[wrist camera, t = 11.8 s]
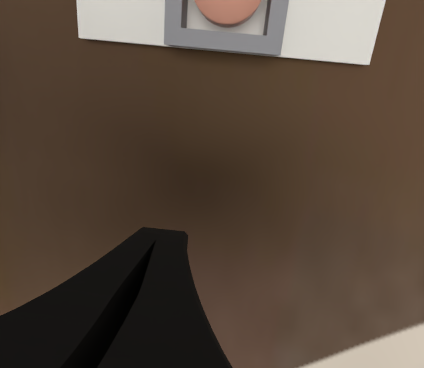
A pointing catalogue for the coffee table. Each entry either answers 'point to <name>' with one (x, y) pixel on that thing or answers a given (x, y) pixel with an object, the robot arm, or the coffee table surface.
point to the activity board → (242, 27)
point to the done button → (227, 11)
